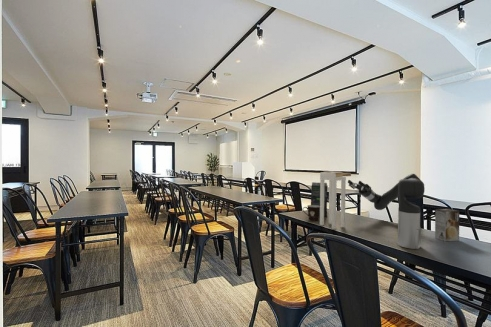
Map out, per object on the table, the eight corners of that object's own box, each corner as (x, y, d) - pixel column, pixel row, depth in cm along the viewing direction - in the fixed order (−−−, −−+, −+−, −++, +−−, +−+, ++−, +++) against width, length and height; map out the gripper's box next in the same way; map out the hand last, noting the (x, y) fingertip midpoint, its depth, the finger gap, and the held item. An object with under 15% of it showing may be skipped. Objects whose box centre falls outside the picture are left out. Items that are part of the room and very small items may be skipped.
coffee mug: (322, 220, 178) (322, 206, 178) (314, 222, 173) (314, 207, 173) (309, 217, 187) (309, 204, 187) (301, 218, 183) (301, 205, 182)
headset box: (327, 217, 187) (327, 182, 186) (310, 216, 190) (311, 182, 190) (326, 211, 208) (326, 180, 208) (311, 210, 212) (311, 180, 211)
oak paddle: (355, 176, 166) (355, 171, 166) (334, 177, 157) (334, 172, 157) (343, 175, 174) (343, 171, 174) (323, 176, 165) (323, 171, 165)
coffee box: (447, 237, 142) (448, 208, 142) (459, 240, 136) (460, 210, 136) (434, 238, 140) (434, 209, 140) (445, 241, 134) (446, 211, 134)
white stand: (345, 227, 160) (345, 173, 160) (333, 229, 156) (334, 173, 155) (330, 223, 171) (331, 172, 170) (319, 224, 166) (320, 172, 166)
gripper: (374, 198, 172) (360, 187, 166) (356, 195, 185) (343, 185, 178) (378, 188, 174) (364, 177, 167) (359, 186, 187) (347, 175, 180)
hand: (353, 181), depth 173 cm, fingers open, 8 cm apart
